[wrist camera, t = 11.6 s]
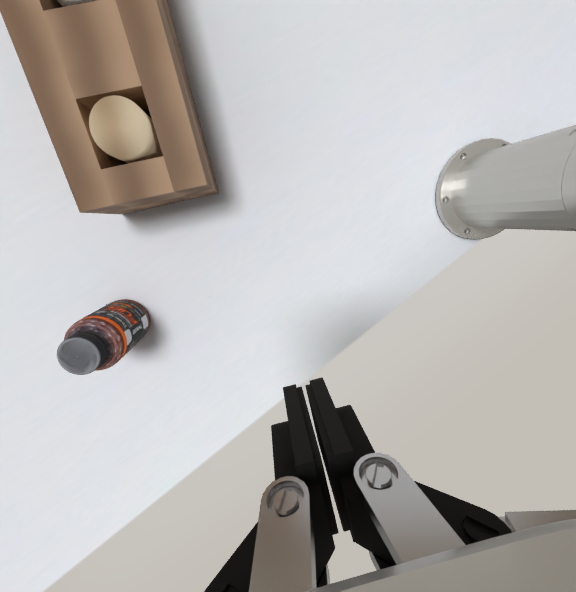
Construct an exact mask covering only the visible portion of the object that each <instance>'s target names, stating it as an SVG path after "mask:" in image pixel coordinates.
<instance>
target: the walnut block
mask: <svg viewBox="0 0 576 592" xmlns="http://www.w3.org/2000/svg"><path fill="white" fill-rule="evenodd" d="M0 12H1V14H2V17H3V19H4V22H5V24H6V27H7V30H8V32H9V35H10V37H11V40H12V42H13V45H14V47H15V50H16V52H17V55H18V57H19V60H20V62H21V65H22V67H23V70H24V72H25V75H26V77H27V80H28V83H29V85H30V88H31V90H32V93H33V95H34V98H35V100H36V103H37V105H38V108H39V110H40V113H41V115H42V118H43V120H44V123H45V125H46V128H47V130H48V133H49V136H50V138H51V141H52V143H53V146H54V148H55V151H56V153H57V156H58V158H59V161H60V163H61V166H62V168H63V171H64V173H65V176H66V178H67V181H68V184H69V186H70V189H71V191H72V194H73V196H74V199H75V201H76V204H77V206H78V209H79V211H80V212H82V213H105V214H125V213H130V212H134V211H139V210H143V209H148V208H152V207H157V206H161V205H166V204H170V203H175V202H179V201H184V200H188V199H193V198H197V197H202V196H206V195H211V194H216V193H218V189H217V185H216V182H215V178H214V174H213V170H212V167H211V163H210V159H209V156H208V152H207V148H206V144H205V141H204V137H203V133H202V129H201V126H200V122H199V118H198V115H197V111H196V107H195V103H194V100H193V96H192V92H191V88H190V85H189V81H188V77H187V73H186V70H185V66H184V62H183V59H182V55H181V51H180V47H179V44H178V40H177V36H176V32H175V29H174V25H173V21H172V18H171V14H170V10H169V6H168V3H167V0H98V1H93V2H87V3H82V4H77V5H71V6H66V7H63V6H62V5H61V4H60V3H59V2H58V1H57V0H0ZM112 95H117V96H122V97H125V98H128V99H130V100H131V101H133V102H134V103H135V104H137V105H138V106H139V107H140V108H141V109H142V110H143V111H144V112H145V113H146V114H147V115H148V116H149V117H150V118H151V119H152V121H153V125H154V128H155V131H156V134H157V138H158V141H159V144H160V147H161V151H162V154H163V156H161V157H157V158H152V159H147V160H143V161H138V162H133V163H126V162H124V161H122V160H120V159H117V158H115V157H113V156H111V155H109V154H107V153H106V152H104V151H103V150H102V149H101V148H100V147H99V146H98V145H97V144H96V142H95V141H94V139H93V137H92V135H91V132H90V127H89V116H90V113H91V110H92V108H93V106H94V105H95V104H96V103H97V102H98V101H99V100H100V99H102V98H104V97H107V96H112Z"/></svg>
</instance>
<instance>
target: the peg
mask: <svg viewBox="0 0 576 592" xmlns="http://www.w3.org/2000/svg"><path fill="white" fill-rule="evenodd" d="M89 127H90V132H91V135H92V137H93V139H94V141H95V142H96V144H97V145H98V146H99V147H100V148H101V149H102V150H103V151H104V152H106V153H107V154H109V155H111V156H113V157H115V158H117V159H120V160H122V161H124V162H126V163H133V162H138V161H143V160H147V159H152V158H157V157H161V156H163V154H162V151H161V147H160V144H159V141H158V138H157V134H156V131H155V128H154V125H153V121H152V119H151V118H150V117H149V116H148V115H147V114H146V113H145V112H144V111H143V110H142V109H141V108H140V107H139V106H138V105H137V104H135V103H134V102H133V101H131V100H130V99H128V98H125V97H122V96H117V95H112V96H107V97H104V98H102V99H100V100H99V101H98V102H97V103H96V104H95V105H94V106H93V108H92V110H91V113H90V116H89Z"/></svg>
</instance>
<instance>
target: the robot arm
mask: <svg viewBox="0 0 576 592" xmlns="http://www.w3.org/2000/svg"><path fill="white" fill-rule="evenodd" d="M442 200H443V201H442ZM436 206H437V211H438V214H439V216H440V218H441V221H442V222H443V223H444V225H445V226H446V227H447V228H448V229H449V230H450V231H451V232H452V233H454V234H456V235H458V236H460V237H464V238H469V239H483V238H487V237H491V236H493V235H495V234H497V233H499V232H501V231H502V230H504V229H505V228H507V229H535V230H564V231H576V125H573V126H570V127H567V128H563V129H560V130H557V131H553V132H550V133H546V134H543V135H540V136H536V137H533V138H530V139H526V140H523V141H519V142H516V143H513V144H510V143H509V142H506V141H504V140H501V139H494V138H489V139H482V140H479V141H475V142H473V143H471V144H468V145H466V146H464V147H463V148H461V149H460V150H459V151H457V152H456V153H455V154H454V155H453V156H452V157H451V158H450V159H449V161H448V162H447V164H446V165H445V166H444V168H443V170H442V172H441V174H440V177H439V180H438V183H437V189H436ZM306 390H307V394H308V398H309V403H310V407H311V412H312V416H313V420H314V424H315V429H316V433H317V438H318V442H319V445H320V449H321V453H322V456H323V460H324V463H325V467H326V471H327V474H328V477H329V481H330V485H331V488H332V492H333V495H334V499H335V502H336V506H337V510H338V513H339V517H340V520H341V524H342V527H343V530H344V531H348V530H350V532H351V535H352V538H353V542H356V543H357V544H359V545H361V546H362V547H364V548H366V549H367V550H369V553H370V557H371V560H372V562H373V564H374V566H375V568H376V570H377V571H374V572H370V573H367V574H364V575H360V576H357V577H353V578H350V579H346V580H343V581H340V582H336V583H332V584H330V578H329V570H328V565H327V563H328V561H329V559H330V557H331V555H332V553H333V551H334V549H335V545H334V541H333V537H332V535H334V534H337V533H338V529H337V524H336V520H335V515H334V511H333V507H332V502H331V498H330V494H329V490H328V486H327V481H326V477H325V472H324V468H323V464H322V460H321V456H320V452H319V448H318V445H317V441H316V437H315V434H314V430H313V426H312V423H311V419H310V416H309V412H308V408H307V405H306V401H305V398H304V394H303V390H302V387H298V388H296V384H295V385H291V386H287V387H283V391H284V397H285V403H286V409H287V416H288V421H286V422H282V423H278V424H274V425H272V426H271V428H272V429H271V430H272V444H273V457H274V469H275V470H274V471H275V481H273V482H272V483H271V484H270V485H269V486H268V487H267V488H266V490H265V492H264V493H263V496H262V499H261V505H260V513H259V520H258V522H257V524H256V525H255V526H254V528H253V529H252V530H251V531H250V533H249V534H248V535H247V537H246V538H245V539H244V540H243V542H242V543H241V544H240V546H239V547H238V548H237V550H236V551H235V552H234V553H233V555H232V556H231V557H230V559H229V560H228V561H227V563H226V564H225V565H224V566H223V568H222V569H221V570H220V572H219V573H218V574H217V575H216V577H215V578H214V579H213V581H212V582H211V583H210V585H209V586H208V587H207V588H206V590H205V592H576V510H561V511H526V512H505V517H497V516H496V515H495V514H493V513H491V512H489V511H487V510H485V509H483V508H480V507H478V506H475V505H473V504H470V503H468V502H465V501H463V500H460V499H458V498H455V497H453V496H450V495H448V494H445V493H443V492H440V491H438V490H435V489H433V488H430V487H428V486H425V485H423V484H420V483H418V482H416V481H413V479H412V478H411V477H410V476H409V475H408V473H407V472H406V471H405V470H404V469H403V467H402V466H401V465H400V464H399V462H397V461H396V460H395V459H394V458H392V457H391V456H389V455H386V454H382V453H375V451H374V450H373V448H372V446H371V444H370V442H369V440H368V438H367V436H366V434H365V432H364V430H363V428H362V426H361V424H360V422H359V420H358V418H357V416H356V414H355V412H354V411H353V409H352V407H351V405H347V406H343V407H340V408H335V406H334V404H333V401H332V399H331V397H330V394H329V392H328V389H327V387H326V385H325V382H324V380H323V378H318V379H315V380H311V381H310V385H306Z"/></svg>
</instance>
